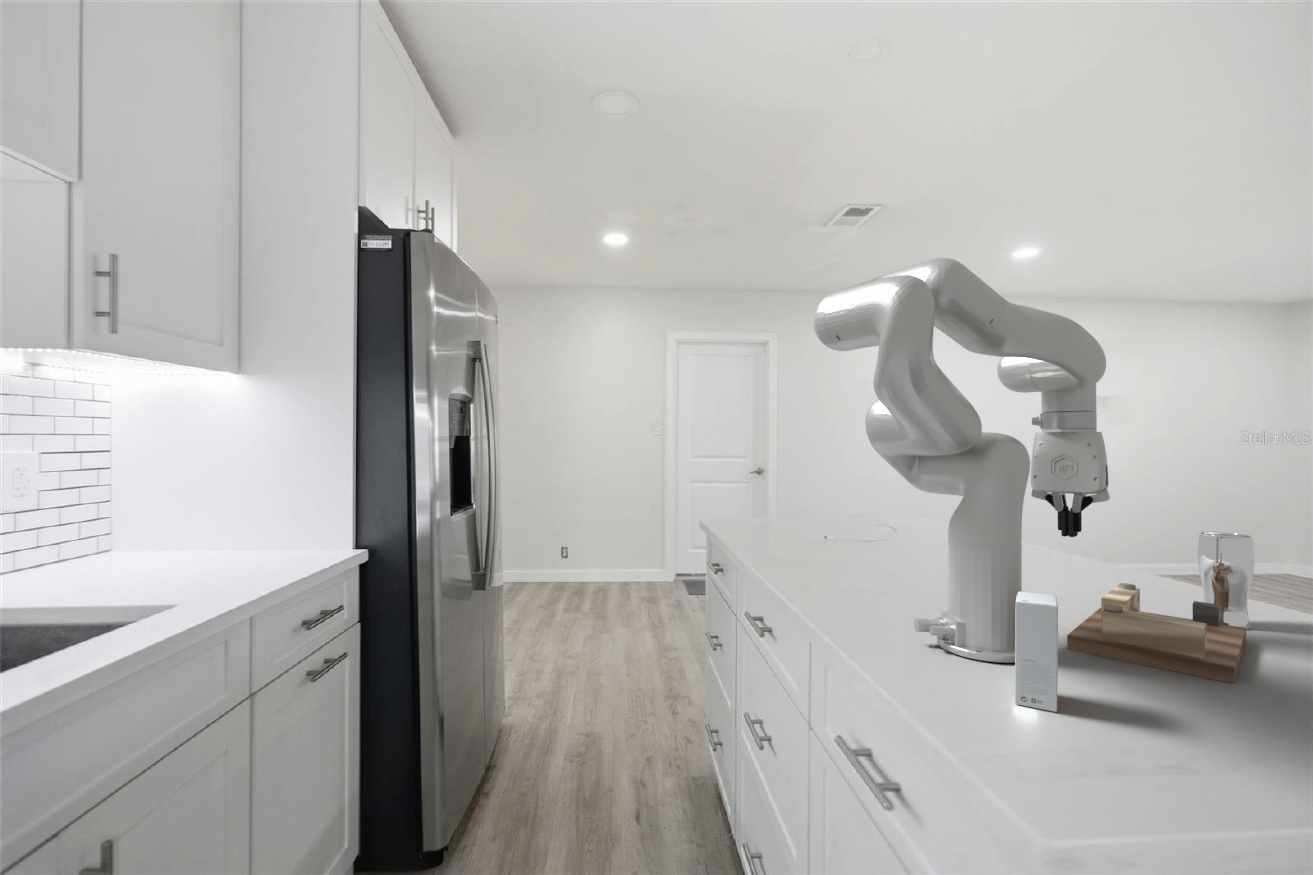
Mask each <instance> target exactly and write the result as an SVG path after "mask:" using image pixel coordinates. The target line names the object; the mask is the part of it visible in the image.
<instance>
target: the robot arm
mask: <svg viewBox="0 0 1313 875" xmlns="http://www.w3.org/2000/svg"><path fill="white" fill-rule="evenodd" d="M813 328H814V331H815V335H816V336H817V338H818V340H819V341H820V342H821V343H822V344H823V345H824V346H826V347H827V348H828V349H830V350H833V351H837V352H847V351H853V350H859V349H860V350H861V349H866V348H871V347H877V346H878V351H877V359H876V365H875V370H874V375H873V388H874V389H873V390H874V393H875V395H876V397H877V398H876V399H875V400H874V401H872V403H871V404H870V405H869V407H868V409H867V412H866V415H865V422H864V423H865V431H866V435H867V439H868V441H869V443H870V445H871V447H872V448H873V449H874V450H875V452H876V453H877V454H878V455H879V456H880V457H881V458H882V459H883V460H884V461H885V462H886V463H887V464H889V466H891V468H892V469H894V470H895V471H896V472H897V473H898V474H899V475H900V476H901V477H903V479H905V481H907V482H908V483H909V484H910V485H911V486H912V487H914V488H916V489H918V490H919V491H921V492H924V493H931V494H936V495H937V494H938V495H950V496H959V497H962V499H961V500H960V502H959V504H958V506H957V507H956V509H954V512H953V513H952V515H951V517H950V519H949V522H948V528H947V541H948V544H947V545H948V546H947V547H948V548H947V551H948V553H947V554H948V555H947V556H948V558H947V561H948V562H947V565H948V566H947V568H948V569H947V571H948V572H947V573H948V576H947V577H948V578H947V579H948V580H947V582H948V583H947V585H948V588H947V591H948V592H947V595H948V596H947V597H948V598H947V603H948V606H947V608H948V609H947V611H941V616H937V617H935V619H929V618H914V621H913V625H914V626H913V628H914V630H915V632H916V633H917V632H918V633H929V635H930V636H936V643H937V645H938V646H939V648H942V649H944V650H945V651H947V652H949V653H951V654H954V655H957V656H960V657H963V658H968V659H972V660H977V661H984V662H990V663H1008V664H1010V663H1011V664H1013V663H1014V664H1015V606H1016V596H1017V594H1018V592H1019V591H1021V592H1023V591H1022V590H1023V583H1022V580H1023V579H1022V578H1023V577H1022V576H1023V574H1022V573H1023V572H1022V571H1023V570H1022V568H1023V566H1022V563H1023V562H1022V560H1023V558H1022V553H1023V550H1022V547H1023V546H1022V540H1023V539H1022V533H1023V532H1022V529H1023V527H1022V525H1023V522H1022V521H1023V508H1024V507H1023V506H1024V501H1025V500H1024V499H1025V496H1026V495H1025V494H1026V489H1027V484H1028V481H1029V475H1030V486H1031V488H1032V490H1031V497H1032V498H1035V499H1039V500H1043V501H1046V502H1048V504H1050V505H1051V506H1052V507H1053V508H1054V510H1055V511H1056V512H1057V530H1058V531H1061V537H1069V538H1075V537H1077V536H1078V534H1079V533H1080V532H1082V530H1083V529H1082V525H1083V523H1082V521H1083V520H1082V519H1083V518H1082V512H1083V511H1084V510H1086V508H1088V507H1089V506H1090V505H1091V504H1096V503H1103V502H1107V501H1109V500H1111V496H1110V493H1109V490H1108V488H1109V470H1108V468H1109V467H1108V458H1107V450H1106V445H1105V439H1104V436H1103V433H1102V431H1097V430H1098V429H1097V428H1098V427H1097V426H1098V422H1097V421H1098V420H1097V417H1098V414H1097V384H1098V383H1099V382H1100V381H1101V379H1102V378H1103V377H1104V375H1105V372H1106V368H1107V359H1106V355H1105V351H1104V349H1103V348H1102V345H1101V344H1100V343H1099V342H1098V340H1097V339H1096V338H1095V337H1094V336H1093V335H1092V334H1091V333H1090V332H1089V331H1088V330H1087V329H1085V328H1084V327H1083V326H1082V325H1080V324H1079V323H1078V322H1076V321H1074V320H1073V319H1070V318H1068V317H1066V316H1063V315H1059V314H1058V313H1053V312H1050V311H1046V310H1042V309H1038V308H1034V307H1030V306H1026V305H1021V304H1016V303H1012V302H1009V301H1008V300H1007V299H1005V297H1003V296H1002V295H1000V294H999V293H998V292H997V291H996V290H994V289H993V288H992V287H991V286H990V285H989V284H988V283H986V282H985V281H983V280H982V279H981V278H980V277H979V276H978V275H977V274H975V273H974V272H972V271H971V269H969V268H968V267H967V266H965V265H964V264H963V263H962V262H960V261H958V260H956V259H953V258H951V257H937V258H932V259H928V260H925V261H924V260H923V261H921V262H918V263H915V264H911V265H908V266H905V267H901V268H898V269H895V270H891V271H889V272H886V273H883V274H881V275H878V276H875V277H873V278H871V279H868V280H866V281H862V282H860V283H857V284H854V285H851V286H849V287H846V288H844V289H840V290H837V291H834V292H831V293H829V294H828V295H827V296H825V297H824V298H823V299H822V300H821V301H820V302H819V304H818V305H817V307H816V309H815V313H814V316H813ZM934 328H936V329H937V330H939V331H941V332H942V333H943V334H945V336H947V337H948V338H950V339H951V340H953V341H954V342H955V343H957V344H958V345H960V346H961V347H962V348H963V349H965V350H966V351H968V352H971V353H975V354H978V355H985V356H990V357H1001V358H1000V359H999V360H998V362H997V363H998V364H997V368H996V369H997V372H996V373H997V376H998V379H999V381H1000V382H1001V384H1002V386H1004V387H1006V388H1007V389H1008V390H1010V391H1013V392H1016V393H1022V394H1023V393H1024V394H1026V393H1039V392H1041V397H1040V398H1041V400H1040V401H1041V402H1040V403H1041V407H1040V408H1041V413H1040V414H1039V415H1038V416H1036V417H1035V416H1034V417H1031V425H1032V426H1037V427H1039V428H1040V429H1041V432H1035V436H1034V440H1033V445H1032V452H1031V460H1030V453H1029V452H1028V449H1027V447H1026V446H1025V445H1024V444H1023V443H1022V441H1020V440H1019V439H1017V438H1016V437H1013V436H1011V435H1009V434H1005V433H999V432H989V431H988V432H987V431H985V432H983V427H982V426H983V425H982V421H981V417H980V415H979V413H978V412H977V410H976V408H975V407H974V405H972V403H971V402H970V401H969V400H968V398H966V396H965V395H964V394H963V393H962V392H961V391H960V390H959V388H958V387H957V386H956V385H955V384H954V383H953V382H952V381H951V380H950V379H949V377H947V375H946V374H945V373H944V372H943V370H942V369H941V368H940V367H939V366H938V364H937V361H936V360H935V356H934V346H933V345H934V344H933V343H934ZM1066 494H1073V498H1072V504H1071V507H1070V508H1069V506H1068V503H1067V498H1066V497H1067V496H1066Z"/></svg>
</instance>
